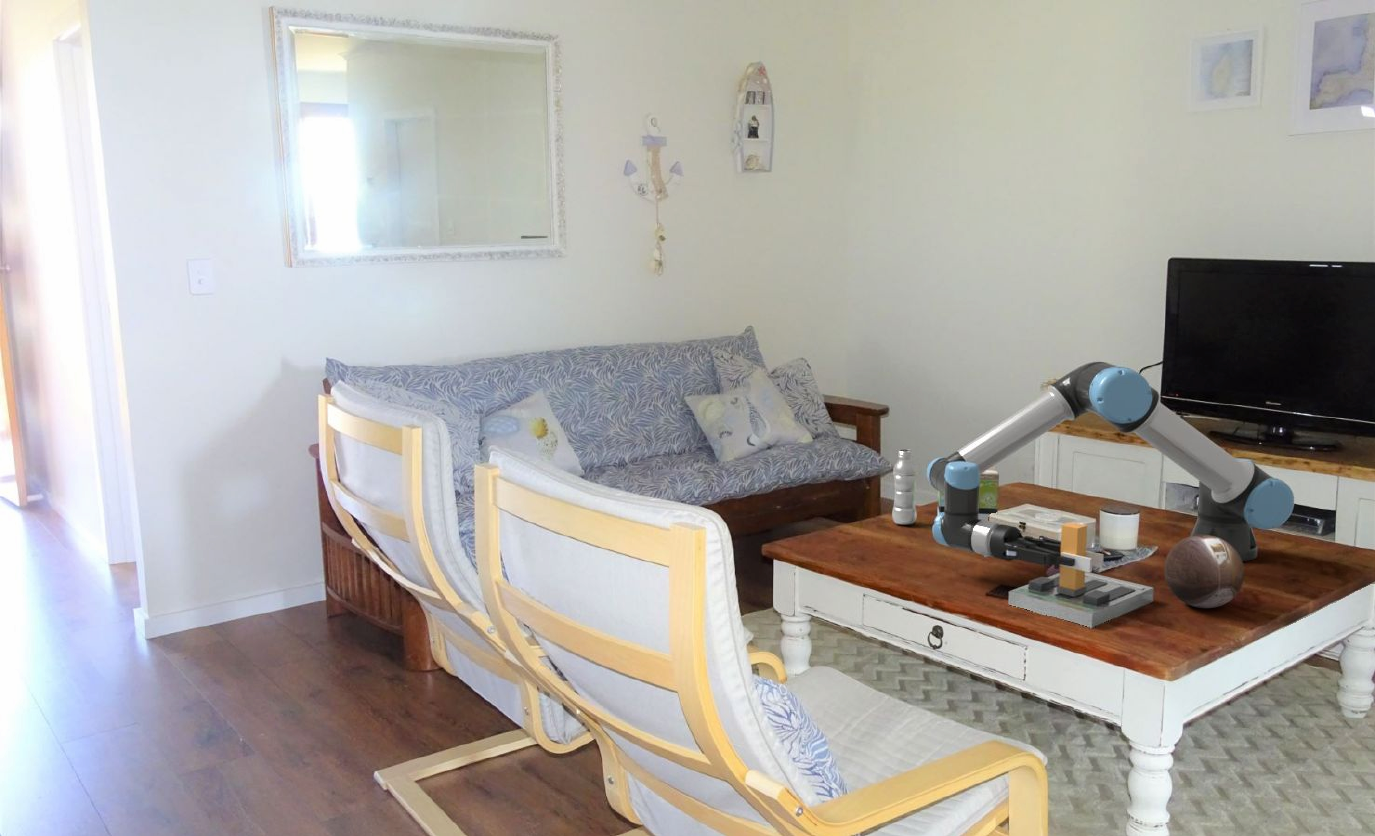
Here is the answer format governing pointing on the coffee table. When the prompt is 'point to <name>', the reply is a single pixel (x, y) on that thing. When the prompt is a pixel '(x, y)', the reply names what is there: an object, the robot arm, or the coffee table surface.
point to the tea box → (982, 494)
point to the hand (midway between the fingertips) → (1096, 563)
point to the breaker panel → (1082, 599)
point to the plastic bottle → (904, 488)
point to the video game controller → (1052, 571)
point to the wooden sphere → (1204, 571)
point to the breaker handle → (1074, 544)
